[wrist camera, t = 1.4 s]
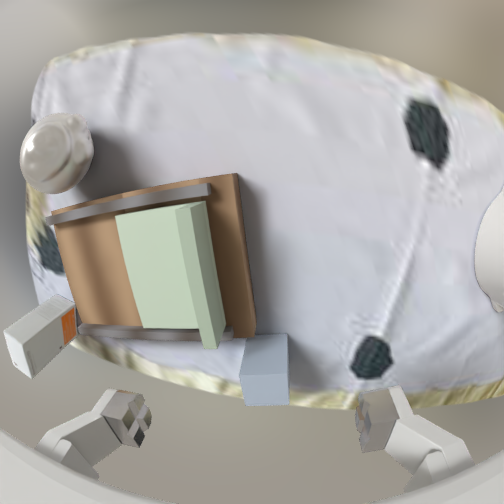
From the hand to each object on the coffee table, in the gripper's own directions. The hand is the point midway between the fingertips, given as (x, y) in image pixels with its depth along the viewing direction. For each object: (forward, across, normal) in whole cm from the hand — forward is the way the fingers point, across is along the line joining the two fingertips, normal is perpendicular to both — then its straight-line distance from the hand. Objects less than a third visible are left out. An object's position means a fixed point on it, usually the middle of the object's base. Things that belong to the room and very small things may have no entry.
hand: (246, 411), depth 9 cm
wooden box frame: (+20, +13, 0) cm, 24 cm away
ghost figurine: (+20, +20, -14) cm, 32 cm away
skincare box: (+21, +30, +7) cm, 37 cm away
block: (+20, +1, +12) cm, 23 cm away
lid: (+17, +9, 0) cm, 19 cm away
